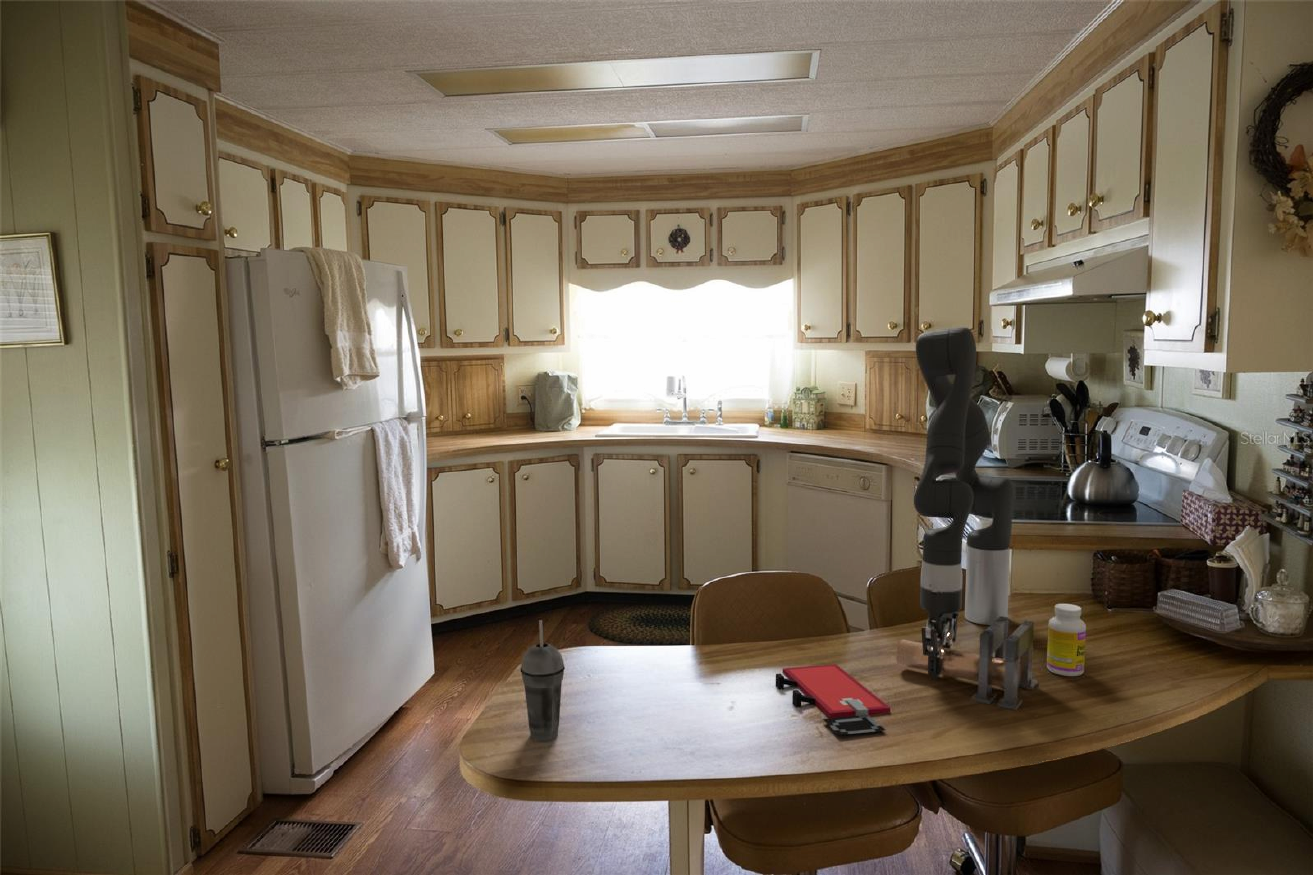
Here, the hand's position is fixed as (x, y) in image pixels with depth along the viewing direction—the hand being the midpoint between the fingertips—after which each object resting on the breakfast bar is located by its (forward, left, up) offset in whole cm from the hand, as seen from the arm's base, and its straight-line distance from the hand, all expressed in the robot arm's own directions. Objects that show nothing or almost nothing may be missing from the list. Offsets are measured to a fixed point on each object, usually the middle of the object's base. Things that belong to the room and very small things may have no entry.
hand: (939, 670), depth 173 cm
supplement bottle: (-17, +19, -2) cm, 26 cm away
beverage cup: (+62, -45, -2) cm, 77 cm away
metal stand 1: (0, +10, -1) cm, 10 cm away
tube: (0, +4, 0) cm, 4 cm away
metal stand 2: (0, +15, -1) cm, 15 cm away
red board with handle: (+22, -12, -2) cm, 25 cm away
